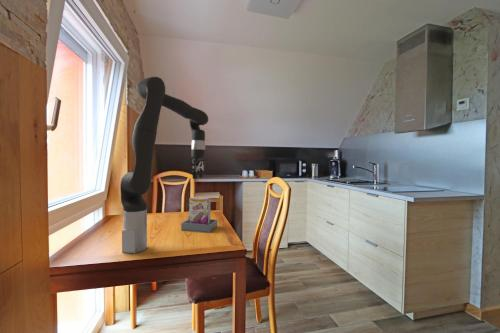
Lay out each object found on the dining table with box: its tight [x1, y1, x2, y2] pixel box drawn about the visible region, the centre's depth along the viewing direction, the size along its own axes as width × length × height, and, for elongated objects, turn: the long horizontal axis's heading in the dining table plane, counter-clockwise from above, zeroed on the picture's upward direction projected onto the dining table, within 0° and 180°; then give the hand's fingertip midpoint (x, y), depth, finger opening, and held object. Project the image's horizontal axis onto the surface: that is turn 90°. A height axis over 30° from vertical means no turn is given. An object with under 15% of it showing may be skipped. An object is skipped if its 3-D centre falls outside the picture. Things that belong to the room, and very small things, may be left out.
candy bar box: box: [188, 196, 211, 225], centre depth 138 cm, size 11×5×16 cm, turn 83°
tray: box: [180, 218, 218, 234], centre depth 138 cm, size 12×17×4 cm
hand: (197, 178), depth 137 cm, fingers open, 8 cm apart
